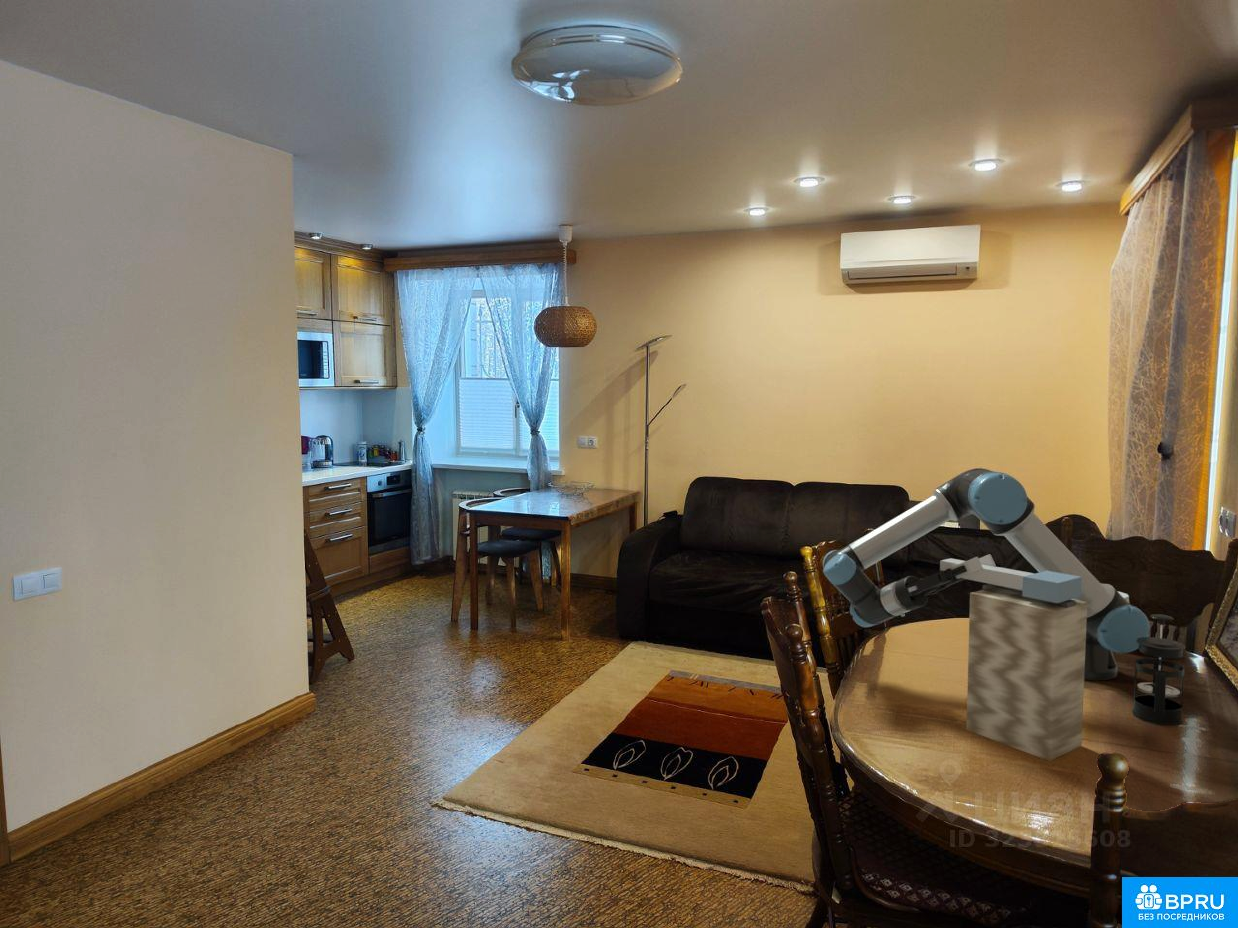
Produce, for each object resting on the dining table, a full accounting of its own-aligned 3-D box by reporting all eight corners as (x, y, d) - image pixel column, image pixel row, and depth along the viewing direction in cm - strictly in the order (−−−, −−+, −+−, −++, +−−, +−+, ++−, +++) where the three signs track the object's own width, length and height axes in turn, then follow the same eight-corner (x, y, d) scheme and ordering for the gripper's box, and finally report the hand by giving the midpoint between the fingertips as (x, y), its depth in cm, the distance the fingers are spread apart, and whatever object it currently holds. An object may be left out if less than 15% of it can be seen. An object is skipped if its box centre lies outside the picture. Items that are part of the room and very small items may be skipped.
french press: (1131, 704, 184) (1135, 607, 182) (1181, 712, 179) (1186, 612, 177) (1132, 722, 174) (1137, 619, 172) (1185, 731, 169) (1190, 625, 167)
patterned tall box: (966, 729, 172) (970, 588, 169) (998, 716, 178) (1002, 580, 176) (1050, 760, 157) (1055, 606, 154) (1081, 745, 163) (1087, 597, 161)
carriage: (933, 577, 178) (933, 559, 178) (957, 571, 183) (957, 554, 183) (1057, 603, 155) (1057, 583, 155) (1081, 596, 160) (1081, 576, 160)
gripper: (933, 604, 193) (1016, 572, 176) (888, 616, 184) (970, 583, 166) (921, 575, 196) (1000, 540, 178) (875, 585, 187) (954, 549, 169)
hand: (985, 561), depth 172 cm, fingers closed on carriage, 4 cm apart
